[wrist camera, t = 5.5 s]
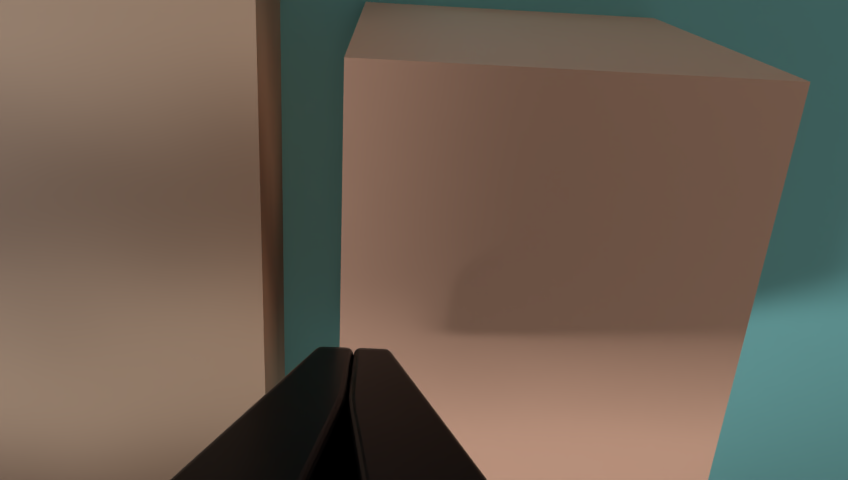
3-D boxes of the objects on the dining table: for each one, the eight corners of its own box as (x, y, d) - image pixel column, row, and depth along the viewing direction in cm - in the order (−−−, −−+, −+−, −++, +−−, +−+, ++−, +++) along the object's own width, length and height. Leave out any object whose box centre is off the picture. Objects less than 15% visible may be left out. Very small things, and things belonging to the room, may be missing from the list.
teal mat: (833, 580, 21) (841, 592, 21) (289, 568, 20) (287, 580, 20) (1202, -418, 12) (1227, -428, 12) (277, -505, 12) (273, -520, 11)
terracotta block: (356, 327, 17) (599, 335, 17) (336, 526, 11) (694, 534, 12) (365, 1, 14) (654, 18, 14) (343, 57, 9) (811, 81, 9)
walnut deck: (288, 479, 19) (269, 574, 16) (-123, 467, 19) (-214, 564, 16) (280, -274, 13) (247, -325, 10) (-342, -323, 12) (-556, -391, 10)
